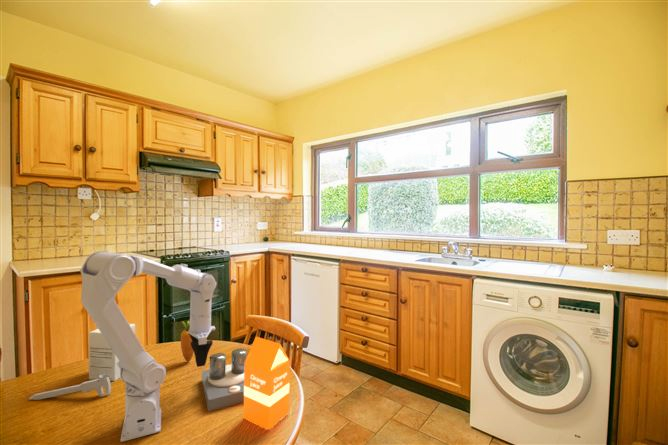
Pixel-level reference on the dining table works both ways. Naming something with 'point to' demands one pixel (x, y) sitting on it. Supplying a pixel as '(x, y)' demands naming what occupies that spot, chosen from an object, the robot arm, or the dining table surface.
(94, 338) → the supplement box
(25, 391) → the dining table surface
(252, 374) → the orange juice
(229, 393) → the kitchen scale
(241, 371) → the steel weight
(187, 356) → the carrot
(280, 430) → the dining table surface
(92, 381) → the caliper
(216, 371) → the steel weight
